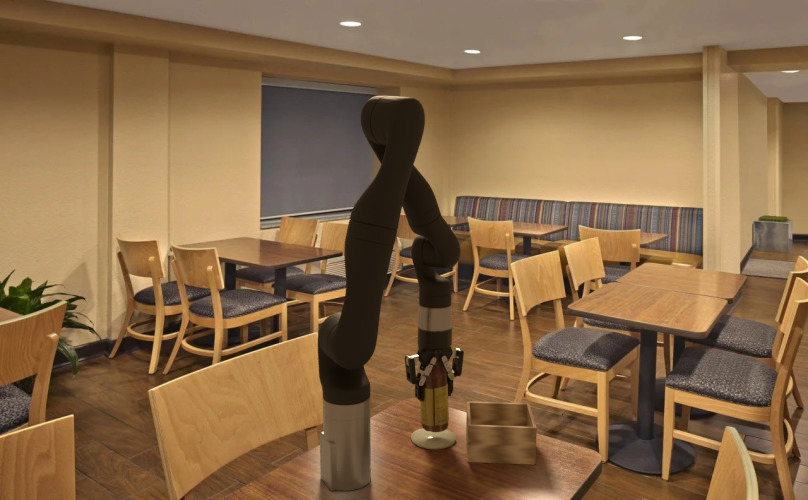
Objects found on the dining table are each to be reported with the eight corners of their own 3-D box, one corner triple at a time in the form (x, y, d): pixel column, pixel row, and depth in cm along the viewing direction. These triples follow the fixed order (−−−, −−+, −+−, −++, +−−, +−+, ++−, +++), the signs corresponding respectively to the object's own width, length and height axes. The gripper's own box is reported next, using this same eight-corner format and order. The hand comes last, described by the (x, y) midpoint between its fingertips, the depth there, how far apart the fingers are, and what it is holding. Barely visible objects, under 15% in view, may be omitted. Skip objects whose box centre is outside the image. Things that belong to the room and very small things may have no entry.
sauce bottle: (449, 422, 148) (450, 338, 145) (448, 434, 142) (449, 347, 139) (420, 421, 149) (421, 337, 145) (418, 433, 142) (418, 346, 139)
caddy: (467, 461, 135) (468, 425, 134) (466, 434, 148) (466, 401, 147) (535, 464, 134) (536, 428, 133) (528, 436, 147) (529, 403, 146)
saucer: (424, 453, 139) (424, 450, 139) (403, 434, 148) (403, 432, 148) (464, 443, 144) (464, 441, 143) (441, 426, 152) (441, 424, 152)
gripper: (413, 333, 135) (413, 409, 138) (472, 325, 141) (470, 398, 144) (397, 324, 142) (397, 397, 144) (454, 317, 148) (453, 386, 151)
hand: (434, 397), depth 144 cm, fingers closed on sauce bottle, 6 cm apart
